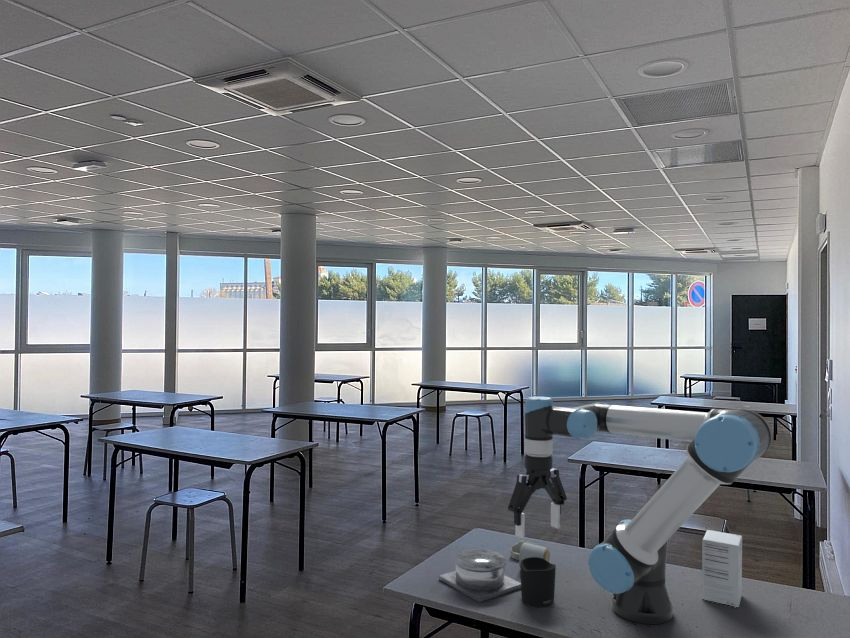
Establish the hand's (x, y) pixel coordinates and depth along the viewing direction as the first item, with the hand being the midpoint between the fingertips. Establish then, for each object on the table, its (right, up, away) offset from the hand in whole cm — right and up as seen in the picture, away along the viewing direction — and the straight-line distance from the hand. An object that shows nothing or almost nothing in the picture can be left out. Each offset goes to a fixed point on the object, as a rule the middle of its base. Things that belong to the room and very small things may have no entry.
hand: (537, 532), depth 170 cm
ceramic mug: (+3, -19, +22) cm, 29 cm away
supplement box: (+51, -19, +2) cm, 55 cm away
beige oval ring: (+1, -19, +31) cm, 36 cm away
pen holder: (0, -19, 0) cm, 19 cm away
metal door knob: (-15, -18, +10) cm, 26 cm away
